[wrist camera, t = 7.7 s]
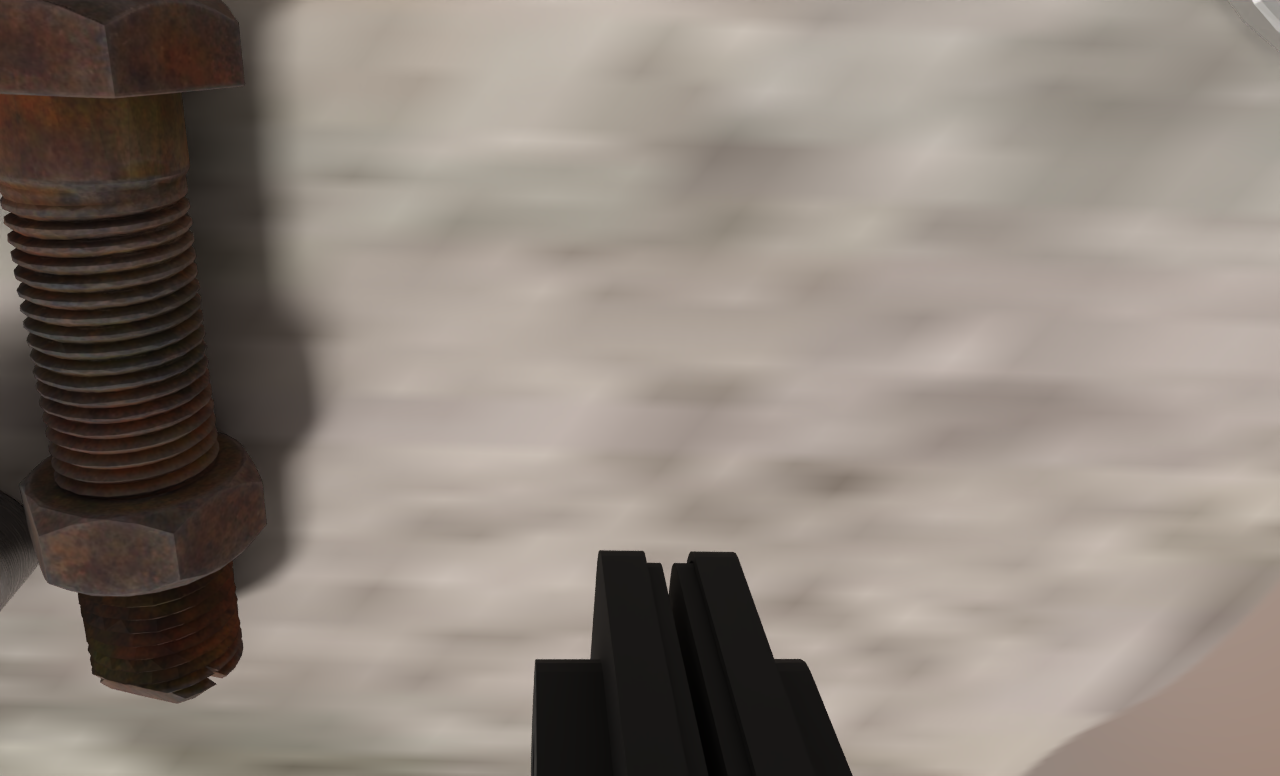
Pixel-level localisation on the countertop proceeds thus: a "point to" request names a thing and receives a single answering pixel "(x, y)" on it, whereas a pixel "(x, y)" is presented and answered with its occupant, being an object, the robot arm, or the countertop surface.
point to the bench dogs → (14, 549)
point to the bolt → (124, 332)
